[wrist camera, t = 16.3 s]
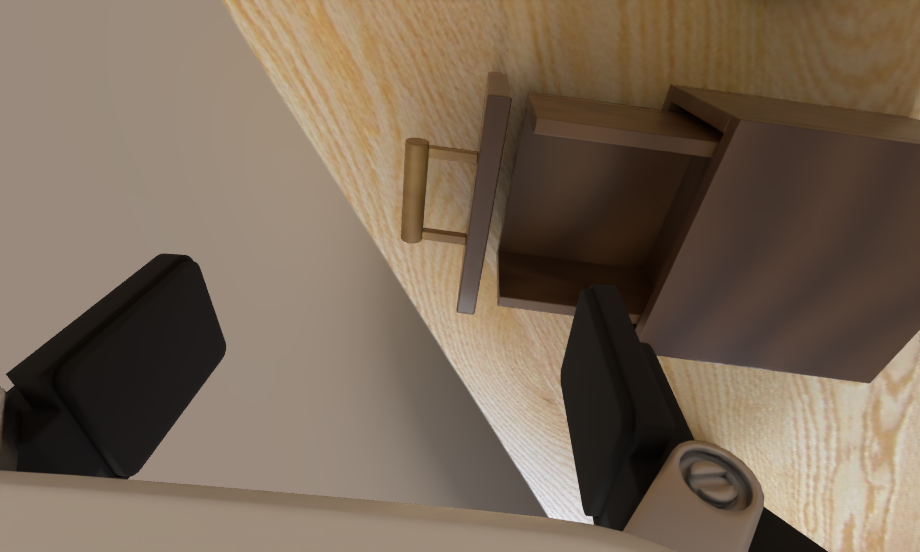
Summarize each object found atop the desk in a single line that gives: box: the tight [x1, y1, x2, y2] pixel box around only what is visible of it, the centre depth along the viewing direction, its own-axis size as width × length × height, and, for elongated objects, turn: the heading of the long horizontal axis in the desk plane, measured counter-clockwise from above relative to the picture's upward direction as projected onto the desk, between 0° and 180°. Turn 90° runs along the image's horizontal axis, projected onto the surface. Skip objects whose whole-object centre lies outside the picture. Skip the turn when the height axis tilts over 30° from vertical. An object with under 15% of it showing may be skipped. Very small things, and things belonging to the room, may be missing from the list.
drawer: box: [401, 72, 724, 324], centre depth 28 cm, size 19×14×7 cm
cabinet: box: [633, 85, 920, 383], centre depth 28 cm, size 16×15×9 cm
